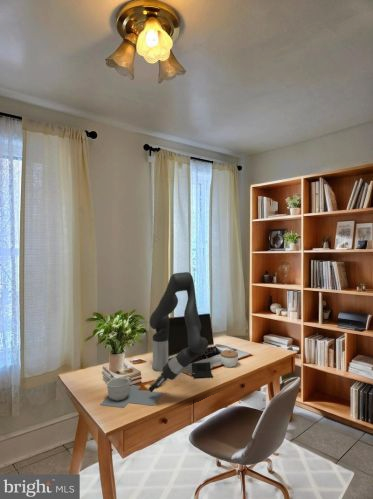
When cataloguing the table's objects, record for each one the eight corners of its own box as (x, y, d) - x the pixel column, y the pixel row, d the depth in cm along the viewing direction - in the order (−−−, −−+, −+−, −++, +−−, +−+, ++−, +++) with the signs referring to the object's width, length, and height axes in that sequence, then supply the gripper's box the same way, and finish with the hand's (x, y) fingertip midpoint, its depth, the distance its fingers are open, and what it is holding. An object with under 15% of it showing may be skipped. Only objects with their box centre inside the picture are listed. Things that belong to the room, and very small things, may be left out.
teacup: (115, 405, 146) (115, 388, 146) (102, 397, 154) (102, 381, 153) (139, 395, 156) (139, 379, 156) (126, 388, 164) (126, 372, 163)
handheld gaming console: (195, 377, 173) (194, 359, 179) (191, 381, 179) (190, 363, 185) (214, 378, 176) (212, 360, 182) (210, 381, 182) (208, 364, 188)
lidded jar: (216, 364, 195) (216, 349, 195) (229, 360, 201) (229, 346, 201) (229, 370, 186) (229, 354, 186) (241, 366, 193) (241, 350, 193)
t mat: (119, 384, 169) (119, 383, 169) (164, 388, 163) (164, 388, 163) (99, 404, 147) (99, 404, 147) (151, 411, 142) (151, 410, 142)
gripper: (172, 356, 157) (149, 378, 160) (165, 366, 144) (140, 390, 147) (183, 367, 156) (159, 389, 159) (176, 379, 143) (150, 402, 146)
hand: (150, 390), depth 153 cm, fingers closed
